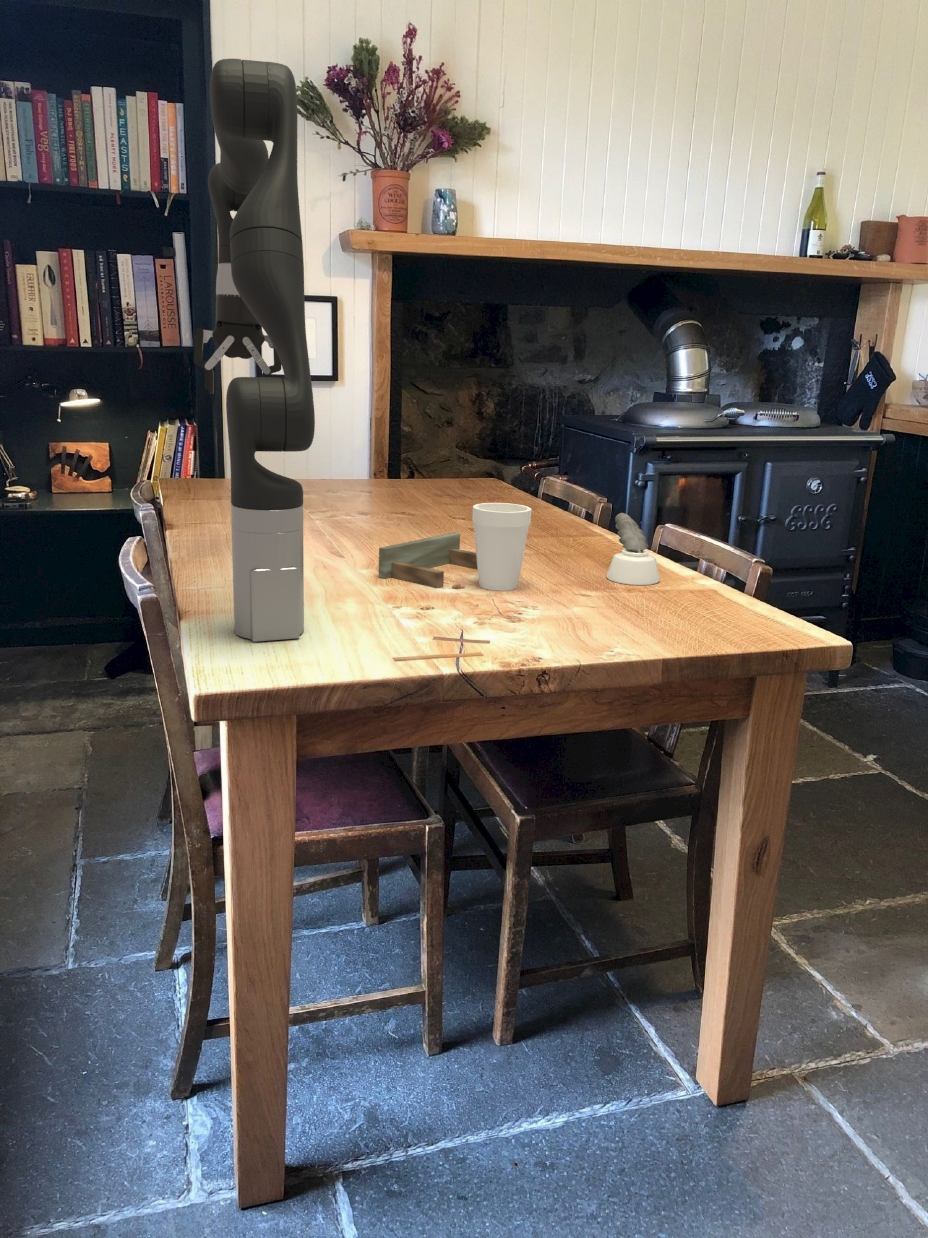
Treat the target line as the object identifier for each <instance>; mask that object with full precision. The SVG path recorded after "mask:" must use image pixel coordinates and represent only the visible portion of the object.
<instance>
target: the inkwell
mask: <svg viewBox="0 0 928 1238" xmlns="http://www.w3.org/2000/svg"><path fill="white" fill-rule="evenodd" d="M614 521H615V523H616V524H615V528H616V529H617V530H618V531H617V535H618V537H619V539H618V542H619V543H620V544H622V550H621V552H618V553H615V554H613V556H612V559H611V561H610V564H609V566H608V569H607V572H606V579H608V580H610V581H611V582H614V583H617V584H622V585H629V586H652V585H655V584H659V582H660V573H659V568H658V567H659V566H658V563H657V562H658V561H657V558H656V557H655V556H653V555H651V554H649V551H648V550H647V549H648V548H649V545H648V539H647V537H646V536H645V534H646V533H644V531H643V529H641V528H640V525H638V523H637V522H636V521H635V520H634V519H633V518H631V516H630V515H628V514H627V513H624V512H620V513H618V514H616V516H615V520H614Z"/></svg>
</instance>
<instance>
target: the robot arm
mask: <svg viewBox="0 0 928 1238" xmlns="http://www.w3.org/2000/svg"><path fill="white" fill-rule="evenodd" d="M213 65H214V66H213V67H212V69H211V73H210V78H209V79H210V81H209V105H210V114H211V115H210V116H211V121H212V125H213V129H214V132H215V136H216V140H217V143H218V147H219V150H220V151H219V152H220V155H219V156H220V158H219V160H220V161H219V162H218V163H215V164H214V165H213V166H212V167H211V169H210V170H209V174H208V177H207V187H208V192H209V196H210V200H211V203H212V209H213V211H214V216H215V217H214V218H215V221H216V227H217V236H218V241H217V242H218V247H217V248H218V254H217V255H218V256H217V257H218V258H217V260H218V261H217V262H218V264H217V271H216V272H217V273H216V278H215V279H216V280H215V281H216V282H215V283H216V284H215V286H216V287H215V326H214V329H213V330H207V329H203V328H201V327H198V328H196V330H195V338H194V339H195V340H194V351H193V363H194V365H196V366H198V367H200V368H203V370H204V388H205V390H206V391H207V390H208V394H212V395H214V392H215V389H214V387H215V371H214V370H213V369H214V367H215V366H216V365H217V364H218V363H219V361H220V360H221V359H222V358H223V357H224V356H226V357H227V358H229V359H230V358H231V359H235V358H239V359H243V360H249V359H251V358H253V359H254V361H255V362H256V363H257V366H259V368H260V370H261V371H262V374H261V376H260V377H259V376H258V377H257V376H238V377H237V376H236V377H234V378H232V380H230V382H229V384H228V387H227V389H226V395H225V396H226V398H225V399H226V400H225V401H226V402H225V406H226V407H225V411H226V423H227V436H228V447H229V461H230V513H231V514H230V517H231V520H230V521H231V551H232V552H231V553H232V557H231V561H232V588H233V589H232V591H233V598H232V599H233V620H234V621H233V626H234V631H233V632H234V633H235V634H236V635H237V636H239V637H241V638H243V639H244V638H245V639H248V640H251V641H252V642H264V641H265V642H266V641H278V640H291V639H300V637H301V636H300V635H301V634H303V633H304V631H305V602H304V601H305V594H304V593H305V591H304V589H305V586H304V585H305V584H304V583H305V580H304V579H305V577H304V573H305V571H304V570H305V569H304V566H305V565H304V488H303V485H302V484H301V483H300V482H299V481H298V480H296V479H292V478H290V477H287V476H284V475H282V474H278V473H276V472H274V471H271V470H270V469H268V468H266V467H265V466H263V465H262V464H260V463H259V462H258V461H257V459H256V456H255V455H256V452H264V453H265V452H268V453H270V452H275V453H276V452H278V453H281V452H284V453H285V452H288V453H289V452H296V453H297V452H304V451H307V450H309V449H310V447H311V446H312V444H313V441H314V438H315V428H316V427H315V426H316V422H315V421H316V420H315V419H316V417H315V415H316V414H315V404H314V402H315V401H314V393H313V385H312V377H311V376H312V375H311V368H310V358H309V357H310V356H309V349H308V342H307V341H308V340H307V331H306V330H307V329H306V328H307V327H306V312H305V311H306V309H305V308H306V307H305V306H306V304H305V302H306V301H305V267H304V266H305V265H304V261H305V260H304V248H303V247H304V245H303V244H304V243H303V234H302V223H301V213H300V199H299V185H298V184H299V183H298V179H299V178H298V93H297V87H296V86H297V85H296V81H295V76H294V74H293V71H292V70H291V69H290V67H289V66H287V65H286V64H282V63H279V62H273V61H263V60H261V61H260V60H250V59H241V58H223V59H222V58H221V59H220V60H217V61H216V62H215V63H214V64H213ZM265 141H268V142H272V148H271V151H270V155H269V151H268V148H267V144H266V142H265ZM231 212H235V214H234V216H232V213H231ZM263 330H264V332H265V333H266V334H265V333H264V332H263ZM211 338H213V341H214V342H215V343H216V345H217V346H218V348H217V349H216V350H215V351H214V353H213V354H212V355H211V357H210V358H209V359H208V360H205V359H203V354H204V344H206V343H208V342H209V340H210V339H211ZM265 342H266V343H267V344H268V347H269V348H270V349H272V350H273V365H269V366H268V364H267V363H266V360H265V359H264V358H263V357H262V355H261V354H260V352H259V350H260V348H261V347H262V345H263V344H264V343H265ZM281 370H282V372H283V374H284V377H271V375H272V374H275V373H278V372H280V371H281Z"/></svg>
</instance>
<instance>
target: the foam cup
mask: <svg viewBox="0 0 928 1238" xmlns="http://www.w3.org/2000/svg"><path fill="white" fill-rule="evenodd" d="M471 518H472V519H471V521H472V523H473V531H474V532H473V533H474V543H475V553H476V557H477V568H478V569H477V578H478V579H477V580H478V586H479V587H480V588H482V589H485V590H489V591H490V590H491V591H500V592H501V591H512V590H516V589H517V588H518V585H519V581H520V576H521V571H522V566H523V561H524V555H525V549H526V543H527V539H528V535H529V534H528V533H529V528H530V525H531V523H532V507H529V506H527V505H522V504H516V503H507V502H483V503H477V504H474V505H473V506H472V517H471Z"/></svg>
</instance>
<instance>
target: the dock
mask: <svg viewBox="0 0 928 1238" xmlns="http://www.w3.org/2000/svg"><path fill="white" fill-rule="evenodd" d="M460 544H461V533H459V532H450V533H445V534H440V535H436V536H430V537H426V538H425V537H424V538H421V539H416V540H412V541H411V540H410V541H405V542H401V543H396V544H392V545H387V546H383V547H381V546H380V547H378V578H381V579H385V580H386V579H389V578H393V579H397V580H402V581H406V582H410V583H414V584H419V585H423V586H427V587H431V588H436V589H438V588H443V587H444V579H445V578H444V577H445V576H444V574H445V571H443V570H439V569H434V567H439V566H443V565H448V564H450V565H455V566H461V567H466V568H470V569H475V570H478V568H477V557H476V551H475V552H474V551H469V550H465V549H461V545H460Z"/></svg>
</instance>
